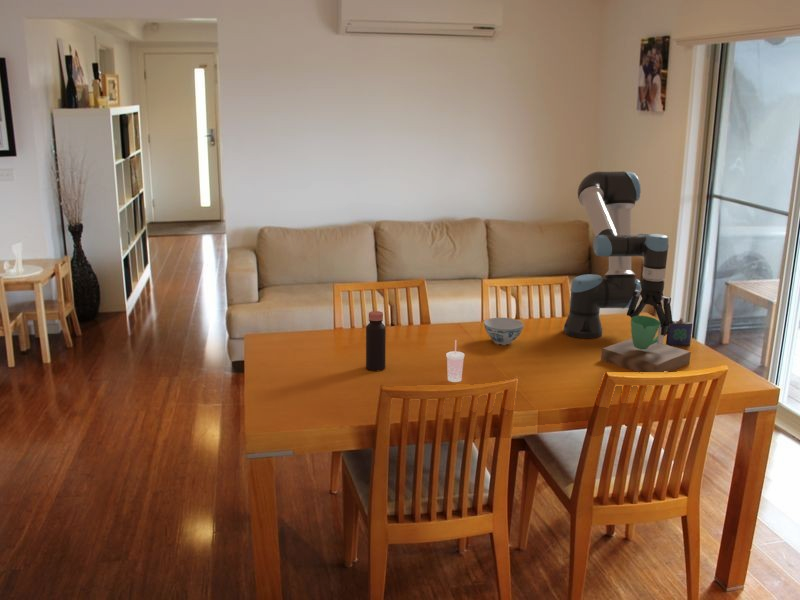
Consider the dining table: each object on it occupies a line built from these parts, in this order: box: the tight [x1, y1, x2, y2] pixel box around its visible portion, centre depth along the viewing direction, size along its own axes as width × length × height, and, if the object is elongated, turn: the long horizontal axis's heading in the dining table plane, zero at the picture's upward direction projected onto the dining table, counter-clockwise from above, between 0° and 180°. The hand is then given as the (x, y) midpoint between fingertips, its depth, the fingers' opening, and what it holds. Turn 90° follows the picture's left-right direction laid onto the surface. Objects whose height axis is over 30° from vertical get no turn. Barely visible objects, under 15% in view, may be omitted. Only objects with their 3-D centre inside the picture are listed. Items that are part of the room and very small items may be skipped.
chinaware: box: [483, 317, 524, 346], centre depth 293 cm, size 15×15×8 cm
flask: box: [665, 317, 693, 347], centre depth 292 cm, size 9×3×11 cm, turn 87°
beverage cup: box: [445, 339, 466, 383], centre depth 254 cm, size 6×6×14 cm
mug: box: [630, 315, 669, 349], centre depth 271 cm, size 15×10×10 cm
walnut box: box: [600, 337, 692, 373], centre depth 274 cm, size 22×22×5 cm
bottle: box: [365, 310, 387, 372], centre depth 263 cm, size 7×7×20 cm
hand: (647, 339), depth 272 cm, fingers closed on mug, 10 cm apart
